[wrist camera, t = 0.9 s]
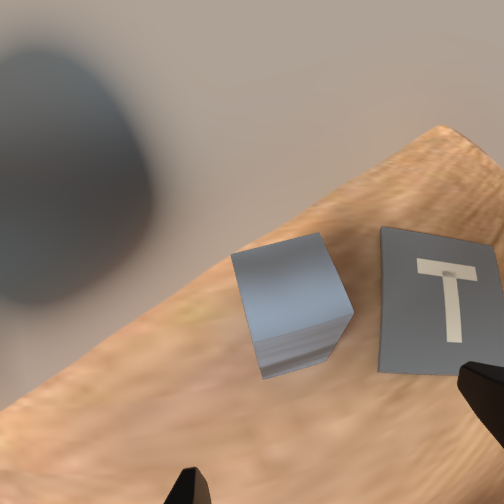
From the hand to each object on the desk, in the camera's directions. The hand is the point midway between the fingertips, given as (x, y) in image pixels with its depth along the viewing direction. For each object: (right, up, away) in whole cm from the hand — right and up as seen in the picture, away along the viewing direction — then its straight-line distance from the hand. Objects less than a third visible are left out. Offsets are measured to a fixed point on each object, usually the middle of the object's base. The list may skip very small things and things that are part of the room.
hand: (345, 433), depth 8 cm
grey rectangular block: (0, -2, +16) cm, 16 cm away
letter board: (+15, +1, +16) cm, 22 cm away
